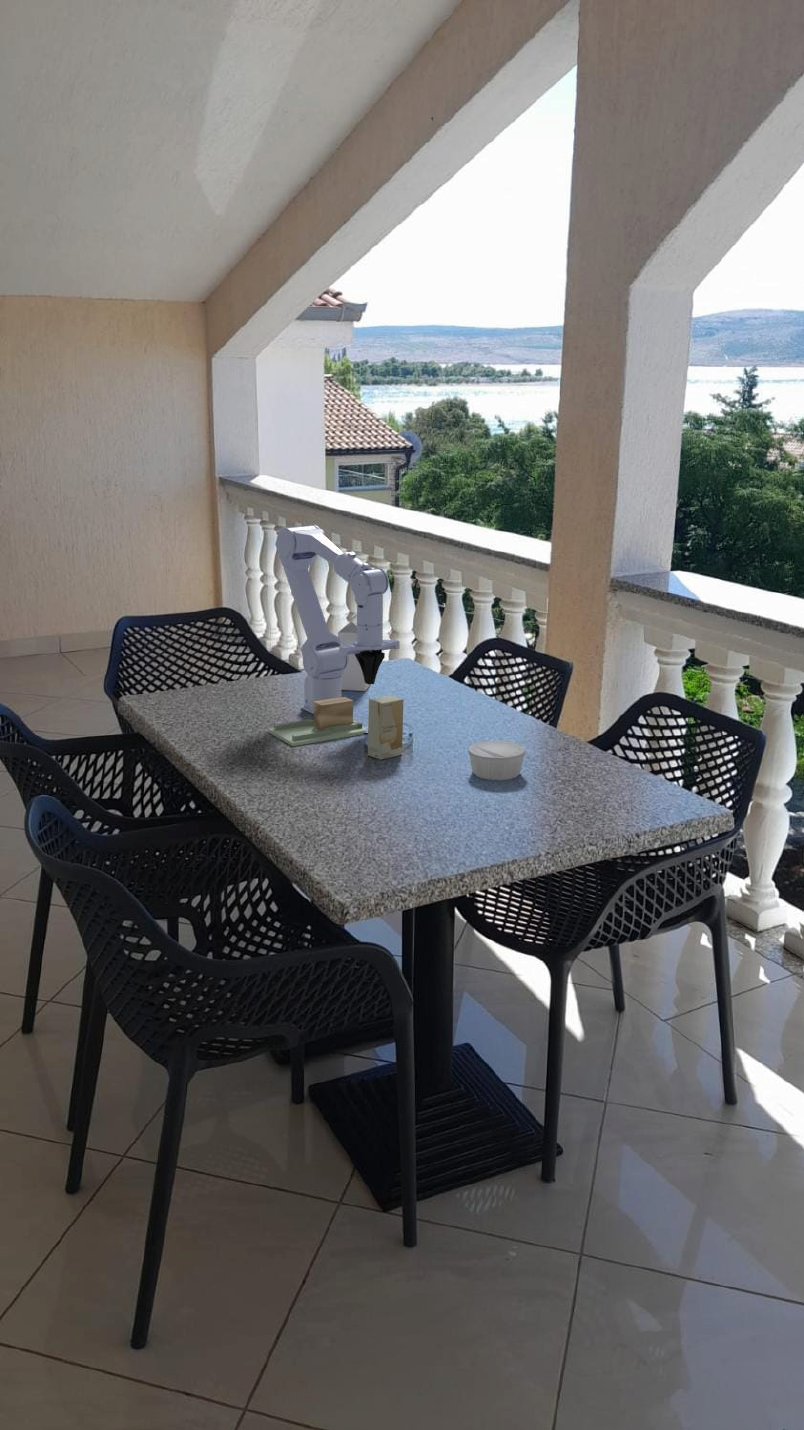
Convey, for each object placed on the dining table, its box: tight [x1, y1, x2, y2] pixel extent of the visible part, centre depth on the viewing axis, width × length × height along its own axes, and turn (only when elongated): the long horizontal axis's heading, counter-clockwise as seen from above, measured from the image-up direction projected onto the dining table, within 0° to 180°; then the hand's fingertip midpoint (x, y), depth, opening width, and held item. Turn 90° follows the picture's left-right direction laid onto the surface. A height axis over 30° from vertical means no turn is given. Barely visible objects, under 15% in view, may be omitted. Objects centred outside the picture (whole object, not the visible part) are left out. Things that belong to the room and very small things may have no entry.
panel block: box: [313, 696, 354, 730], centre depth 247 cm, size 4×8×6 cm, turn 122°
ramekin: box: [468, 740, 526, 782], centre depth 221 cm, size 11×11×5 cm
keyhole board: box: [267, 718, 368, 747], centre depth 246 cm, size 12×19×2 cm, turn 122°
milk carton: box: [337, 611, 371, 692], centre depth 282 cm, size 7×7×19 cm
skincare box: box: [367, 694, 404, 761], centre depth 230 cm, size 6×4×12 cm
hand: (369, 683), depth 250 cm, fingers closed
